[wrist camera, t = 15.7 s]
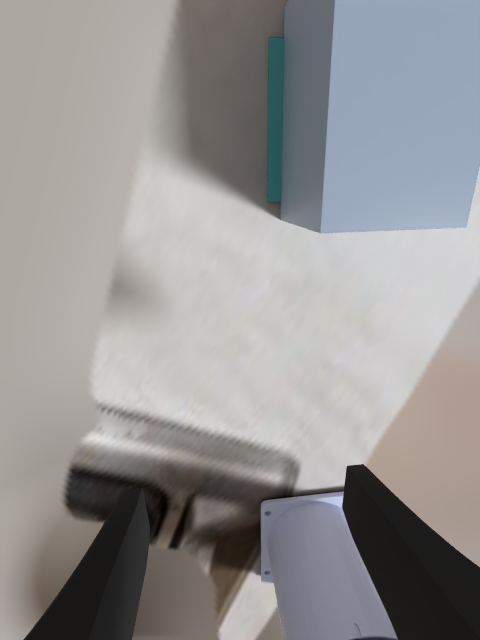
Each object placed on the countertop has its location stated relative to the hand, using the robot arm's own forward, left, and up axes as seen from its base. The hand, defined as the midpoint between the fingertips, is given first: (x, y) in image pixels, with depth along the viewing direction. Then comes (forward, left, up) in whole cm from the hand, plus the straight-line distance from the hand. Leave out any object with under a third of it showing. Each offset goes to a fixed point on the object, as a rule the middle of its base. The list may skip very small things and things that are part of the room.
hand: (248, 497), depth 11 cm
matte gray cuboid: (+13, -6, -10) cm, 17 cm away
